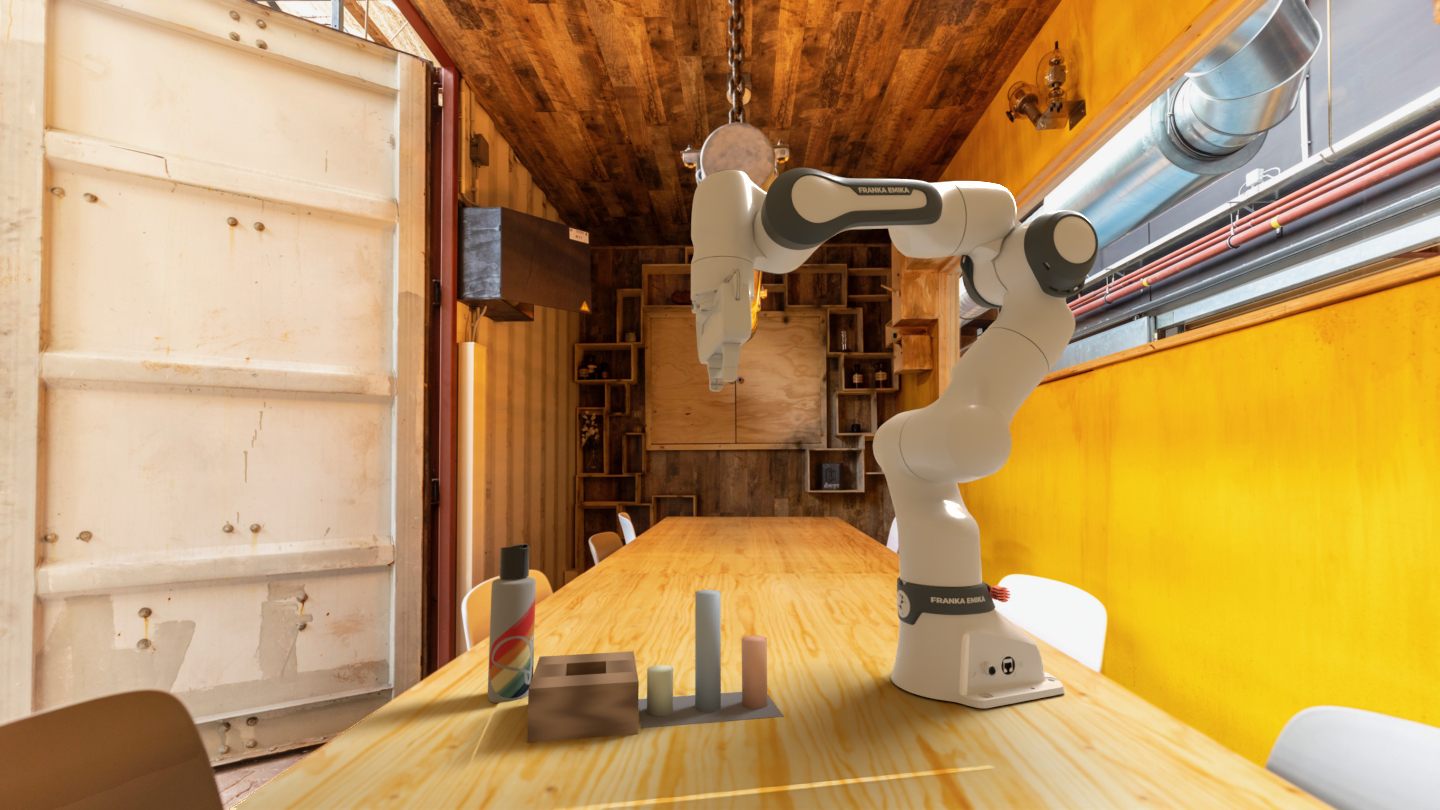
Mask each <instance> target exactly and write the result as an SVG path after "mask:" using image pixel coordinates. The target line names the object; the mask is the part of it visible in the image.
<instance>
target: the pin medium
mask: <svg viewBox="0 0 1440 810" xmlns="http://www.w3.org/2000/svg"><path fill="white" fill-rule="evenodd" d="M767 646H768V639H767V637H766V636H764V635H759V634H758V635H756V634H753V635H752V634H751V635H745V636H742V637H741V692H742V705H743V706H744V707H746V708H751V709H760V708H764V707H766V706H767V694H768V648H767Z"/></svg>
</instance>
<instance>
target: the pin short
mask: <svg viewBox="0 0 1440 810" xmlns="http://www.w3.org/2000/svg"><path fill="white" fill-rule="evenodd" d="M646 669H647V670H646V671H647V672H646V675H647V676H646V699H647V713H648V714H649V715H652V716H666V715H669V714H671V713H672V712H673V697H674V667H673V666H671V665H669V664H656V665H655V664H654V665H651V666H648V667H647V668H646Z"/></svg>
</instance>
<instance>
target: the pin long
mask: <svg viewBox="0 0 1440 810" xmlns="http://www.w3.org/2000/svg"><path fill="white" fill-rule="evenodd" d="M694 593H695V599H694V601H695V603H694V604H695V610H694V611H695V613H694V615H695V616H694V619H695V621H694V622H695V623H694V624H695V625H694V626H695V627H694V628H695V629H694V630H695V631H694V635H695V636H694V639H695V640H694V642H695V645H694V647H695V649H694V650H695V651H694V652H695V653H694V654H695V655H694V657H695V659H694V662H695V663H694V664H695V666H694V668H695V669H694V671H695V673H694V676H695V677H694V678H695V679H694V681H695V682H694V686H695V687H694V690H695V691H694V695H695V709H696V710H698V711H700V712H707V713H709V712H716V711H718V710H720V709H721V693H722V679H721V678H722V675H721V671H722V667H721V665H722V663H721V661H722V660H721V659H722V656H721V654H722V653H721V651H722V650H721V649H722V647H721V645H722V642H721V641H722V640H721V639H722V638H721V637H722V635H721V632H722V630H721V628H722V626H721V624H722V622H721V617H722V616H721V614H722V613H721V612H722V611H721V610H722V609H721V607H722V606H721V602H722V601H721V598H722V597H721V593H722V592H721V591H719V590H715V589H700V590H696V591H695V592H694Z"/></svg>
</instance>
